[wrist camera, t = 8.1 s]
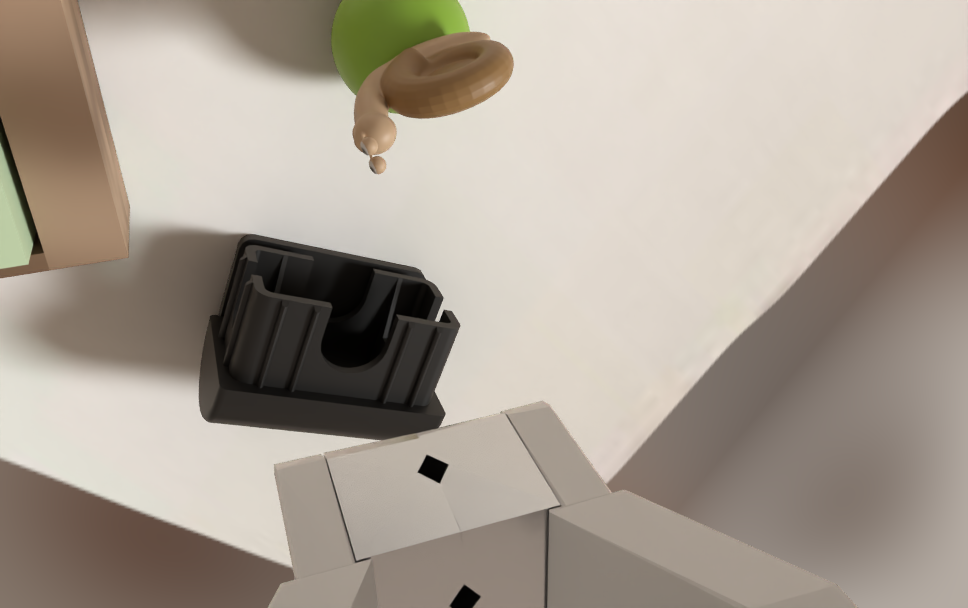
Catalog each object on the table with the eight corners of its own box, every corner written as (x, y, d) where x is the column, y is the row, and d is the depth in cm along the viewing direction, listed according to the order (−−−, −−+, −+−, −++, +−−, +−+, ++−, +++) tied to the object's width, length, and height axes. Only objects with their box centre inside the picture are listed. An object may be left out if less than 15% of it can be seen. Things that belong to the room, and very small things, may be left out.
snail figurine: (274, 1, 34) (329, 80, 24) (421, -63, 35) (531, -12, 25) (331, 122, 37) (399, 236, 27) (464, 61, 38) (578, 151, 28)
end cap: (193, 363, 40) (201, 451, 35) (230, 228, 38) (245, 300, 32) (389, 389, 45) (425, 471, 39) (434, 270, 42) (478, 340, 37)
